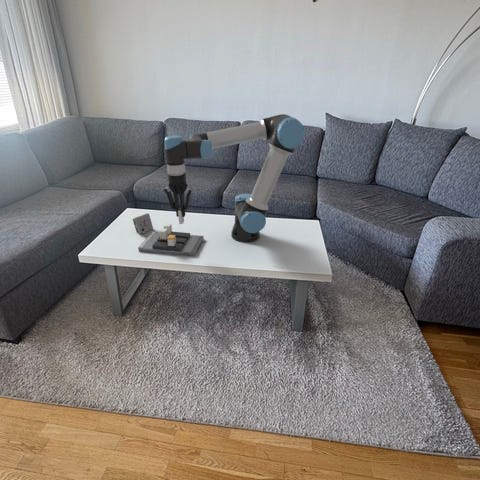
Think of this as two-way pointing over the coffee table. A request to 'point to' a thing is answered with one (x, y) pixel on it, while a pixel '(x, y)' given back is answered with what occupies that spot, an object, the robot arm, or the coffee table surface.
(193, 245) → the panel
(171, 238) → the block
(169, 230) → the block
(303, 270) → the coffee table surface
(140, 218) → the electrical switch
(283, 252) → the coffee table surface
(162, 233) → the block
